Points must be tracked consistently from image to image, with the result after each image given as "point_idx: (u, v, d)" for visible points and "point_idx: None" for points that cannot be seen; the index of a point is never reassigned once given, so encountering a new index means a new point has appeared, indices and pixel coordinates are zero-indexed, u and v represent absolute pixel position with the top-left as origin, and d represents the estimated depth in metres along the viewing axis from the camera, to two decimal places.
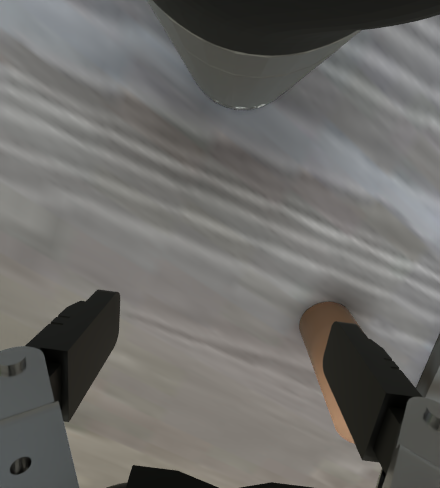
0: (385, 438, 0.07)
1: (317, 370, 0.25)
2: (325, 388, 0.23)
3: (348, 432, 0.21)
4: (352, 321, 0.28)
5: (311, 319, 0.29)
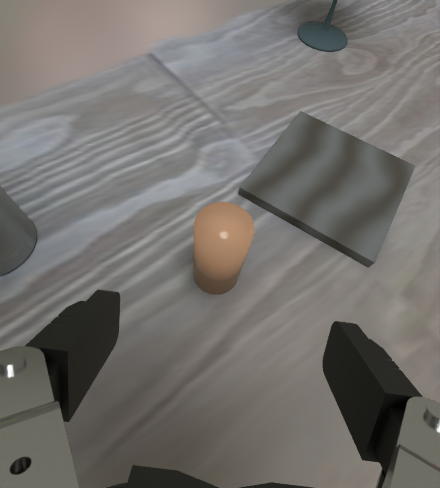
0: (385, 438, 0.07)
1: (207, 269, 0.29)
2: (206, 260, 0.28)
3: (231, 247, 0.26)
4: None
5: (195, 275, 0.34)
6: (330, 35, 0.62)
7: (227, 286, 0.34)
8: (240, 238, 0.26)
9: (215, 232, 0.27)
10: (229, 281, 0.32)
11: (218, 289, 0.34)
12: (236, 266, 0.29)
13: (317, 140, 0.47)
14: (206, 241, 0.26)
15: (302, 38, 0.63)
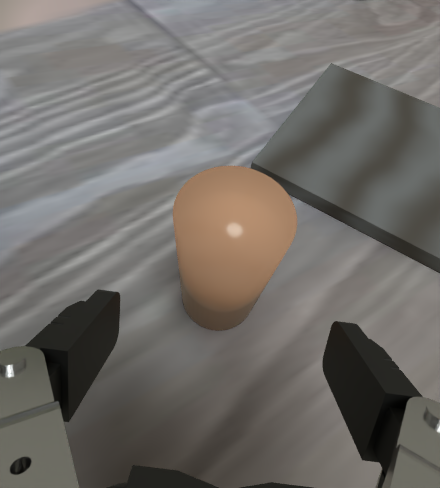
0: (385, 438, 0.07)
1: (202, 295, 0.16)
2: (200, 280, 0.14)
3: (252, 254, 0.12)
4: None
5: (184, 300, 0.21)
6: None
7: (238, 319, 0.20)
8: (270, 235, 0.13)
9: (218, 224, 0.13)
10: (242, 312, 0.19)
11: (223, 324, 0.20)
12: (257, 290, 0.15)
13: (358, 99, 0.33)
14: (198, 242, 0.12)
15: None
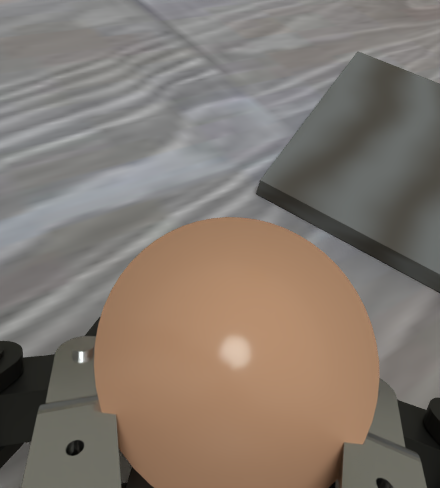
0: None
1: None
2: None
3: (283, 460, 0.05)
4: None
5: None
6: None
7: None
8: (323, 397, 0.05)
9: (199, 368, 0.05)
10: None
11: None
12: None
13: (395, 95, 0.26)
14: (149, 429, 0.05)
15: None
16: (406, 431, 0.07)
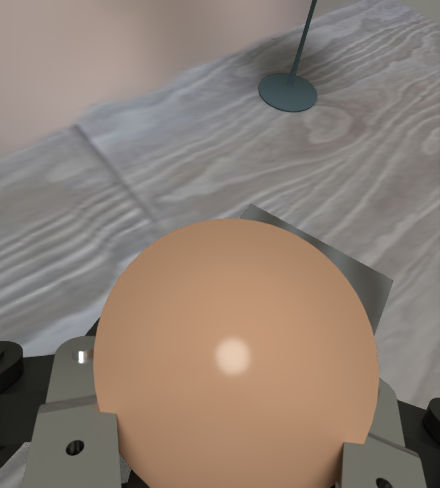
0: None
1: None
2: None
3: (282, 462, 0.05)
4: None
5: None
6: (295, 92, 0.53)
7: None
8: (322, 398, 0.05)
9: (198, 370, 0.05)
10: None
11: None
12: None
13: None
14: (148, 431, 0.05)
15: (263, 96, 0.53)
16: (406, 431, 0.07)
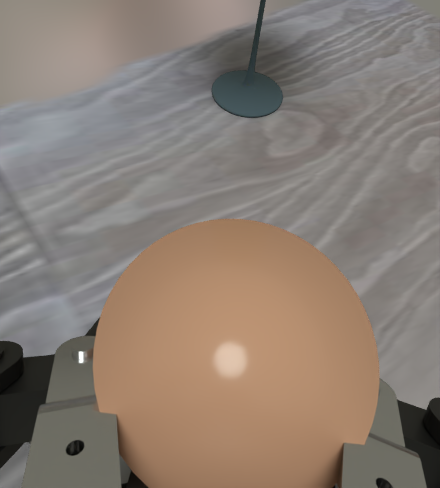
0: None
1: None
2: None
3: (283, 464, 0.05)
4: None
5: None
6: (255, 93, 0.43)
7: None
8: (323, 399, 0.05)
9: (198, 371, 0.05)
10: None
11: None
12: None
13: None
14: (148, 433, 0.05)
15: (216, 98, 0.44)
16: (406, 431, 0.07)
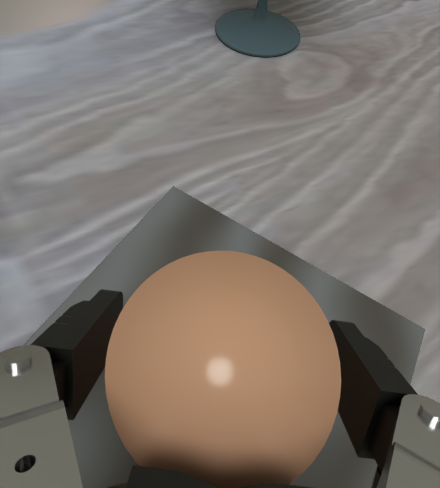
0: (380, 435, 0.07)
1: None
2: None
3: (255, 459, 0.06)
4: None
5: None
6: (268, 29, 0.36)
7: None
8: (292, 408, 0.07)
9: (191, 381, 0.07)
10: None
11: None
12: None
13: None
14: (148, 430, 0.06)
15: (220, 35, 0.36)
16: None
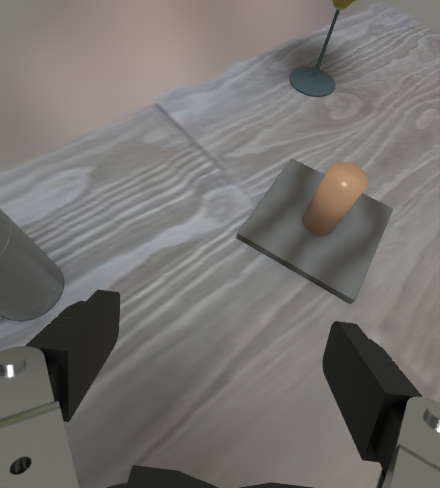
0: (385, 438, 0.07)
1: (327, 209, 0.42)
2: (331, 200, 0.41)
3: (354, 189, 0.39)
4: None
5: (307, 220, 0.47)
6: (319, 81, 0.69)
7: (332, 228, 0.46)
8: (359, 184, 0.39)
9: (342, 180, 0.39)
10: (336, 222, 0.45)
11: (325, 230, 0.47)
12: (348, 207, 0.42)
13: (306, 186, 0.53)
14: (336, 185, 0.39)
15: (293, 84, 0.69)
16: None
